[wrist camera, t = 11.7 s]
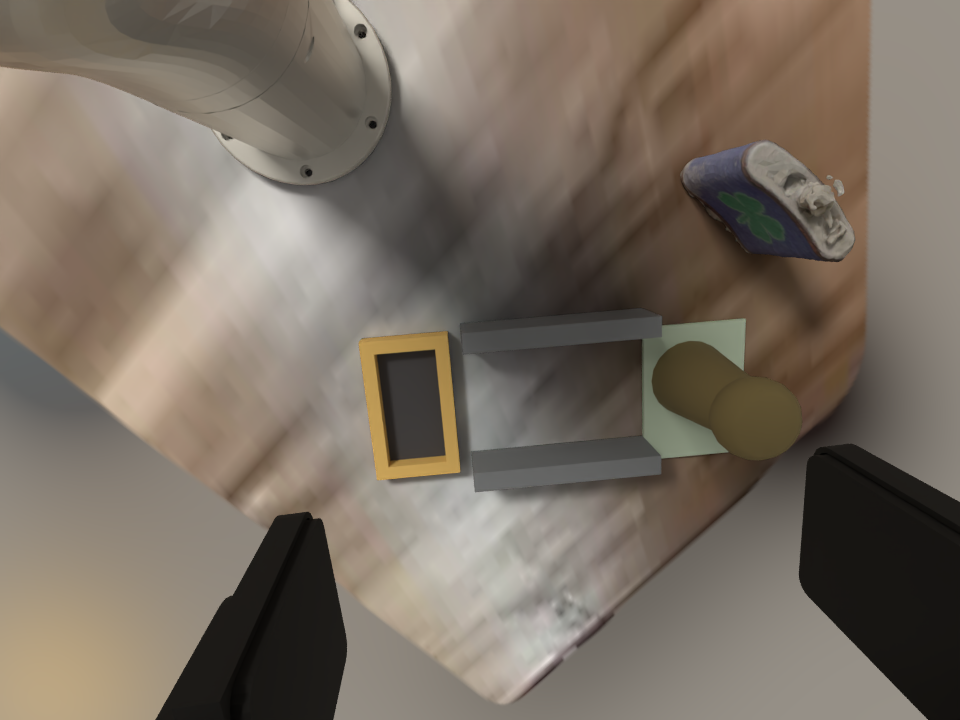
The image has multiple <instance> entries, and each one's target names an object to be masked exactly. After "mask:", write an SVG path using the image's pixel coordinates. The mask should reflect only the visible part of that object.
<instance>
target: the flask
mask: <svg viewBox="0 0 960 720" xmlns="http://www.w3.org/2000/svg"><path fill="white" fill-rule="evenodd" d="M680 177H681V181H682V183H683V185H684V187H685V189H686V190H687V191H688V193H689V195H691V197H696V198H697V199H698V200H699V201H700V202H701V203H703V206H705V210H706V211H707V212H708V213H709V216H712V217H713V218H714V219H716V220H719V221H721V222H723V223H724V224H725V225H726V229H725V230H728V231H730V232H732V233H733V234H734V235H735V238H736V241H738V242H739V244H740V245H741V247H742V248H743V249H744V250H745V251H746V252H747V253H751V254H769V255H775V256H781V257H796V258H804V259H809V260H810V259H813V260H817V261H825V262H826V261H830V262H839V261H842V260H843V259H844V257H845V256H846V255H847V254H848V253H849V252H850V251H851V249H852V247H853V245H854V242H855V236H854V231H853V229H852V227H851V225H850V224H849V222H848V221H847V219H846V217H845V215H844V213H843V211H842V209H841V207H840V206H839V204H838V203H837V201H836V200H835V198H834V193H833V192H831V186H828V185H825V184H823V183H822V182H821V181H820V180H819V178H818V177H817V176H816V175H814V174H813V173H812V172H811V170H810V169H808V168H807V167H806V166H805V165H804V164H803V163H801V162H800V161H799V160H798V159H796V158H795V157H793V156H792V155H791V154H790V153H789V152H788V151H786V150H785V149H784V148H782V147H780V146H779V145H777V144H776V143H773V142H771V141H769V140H759V141H757V142H753V143H750V144H748V145H745V146H741V147H737V148H733V149H729V150H725V151H722V152H719V153H716V154H713V155H709V156H705V157H699V158H695V159H693V160H691V161H690V162H689V163H688V164H686V165H685V167H684V169H683V170H682V172H681V174H680ZM832 178H833V177H832V176H829V175H828V176H827V179H829V180H830V179H832ZM833 186H834V187H835V189H836V190H837V192H838V196H841V195H842V194H843V193H844V187H843V184H842V182H841V181H840V180H835V181H834V185H833Z"/></svg>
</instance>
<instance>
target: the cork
mask: <svg viewBox="0 0 960 720" xmlns="http://www.w3.org/2000/svg"><path fill="white" fill-rule="evenodd" d="M651 382H652V388H653V393H654V395H655V397H656V399H657V400H658V402H659V403H660V404H661V405H662V406H663V407H665V408H666V409H667V410H669V411H671V412H673V413H675V414H678V415H680V416H682V417H684V418H686V419H688V420H690V421H693V422H695V423H697V424H699V425H701V426H703V427H705V428H707V429H710V430H712V432H713V434H714V436H715V438H716V440H717V441H718V443H719V444H721V445H722V446H723V447H724V448H725V449H726V450H727V451H729V452H730V453H731V454H733V455H736V456H738V457H741V458H743V459H747V460H759V461H760V460H765V459H769V458H773V457H776V456H778V455H780V454H782V453H783V452H785V451H786V450H787V449H789V448H790V447H791V446H792V445H793V444H794V442H795V441H796V439H797V437H798V435H799V434H800V430H801V426H802V413H801V407H800V405H799V403H798V401H797V398H796V397H795V396H794V395H793V394H792V393H791V392H790V391H789V390H788V389H787V388H786V387H785V386H784V385H783V384H780V383H778V382H776V381H773V380H771V379H769V378H766V377H751V376H749V375H748V374H747V373H746V372H744V371H743V370H742V369H741V368H739V367H738V366H737V365H736V364H734V363H733V362H732V361H730V360H729V359H728V358H727V357H725V356H724V355H723V354H722V353H720V352H719V351H718V350H717V349H715V348H714V347H713V346H711V345H709V344H706V343H704V342H701V341H687V342H683V343H678V344H677V345H675V346H673V347H671V348H670V349H668V350H667V351H666V352H665V353H664V354H663V355H662V356H661V357H660V358H659V360H658V362H657V364H656V366H655V368H654V370H653V375H652V381H651Z"/></svg>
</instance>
